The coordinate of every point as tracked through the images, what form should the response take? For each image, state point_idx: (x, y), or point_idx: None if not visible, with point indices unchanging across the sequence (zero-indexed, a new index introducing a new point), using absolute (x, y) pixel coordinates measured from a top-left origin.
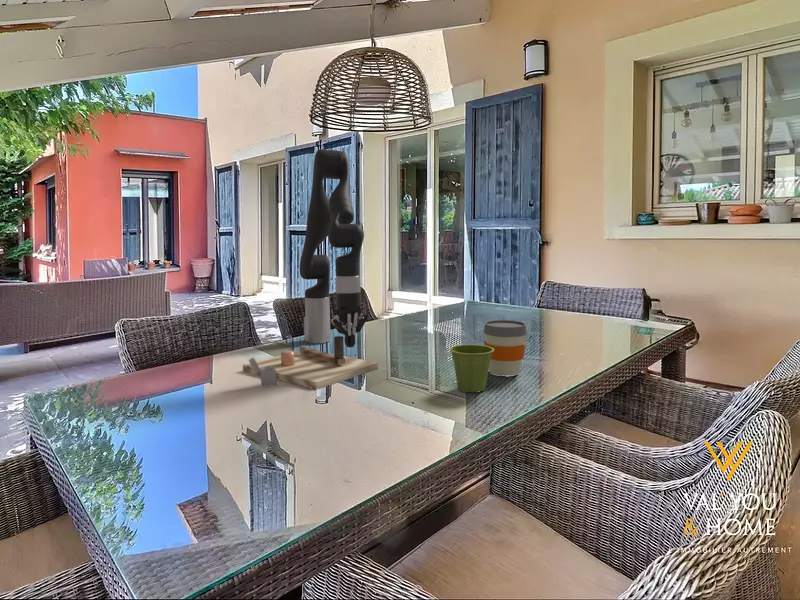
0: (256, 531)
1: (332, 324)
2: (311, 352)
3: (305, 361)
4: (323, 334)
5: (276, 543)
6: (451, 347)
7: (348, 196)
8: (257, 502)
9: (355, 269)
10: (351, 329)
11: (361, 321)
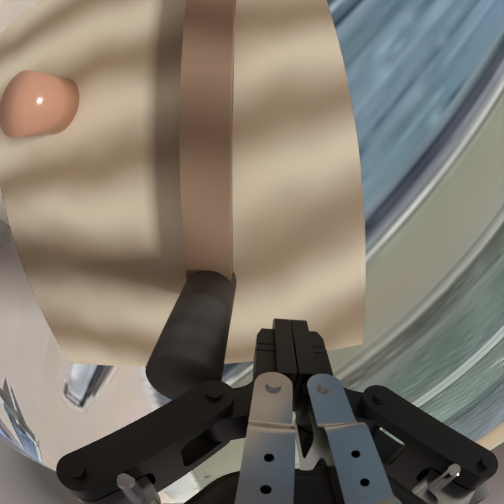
0: (27, 452)
1: (101, 441)
2: (183, 45)
3: (133, 92)
4: None
5: (36, 460)
6: None
7: None
8: (23, 443)
9: None
10: (336, 411)
11: (402, 480)
